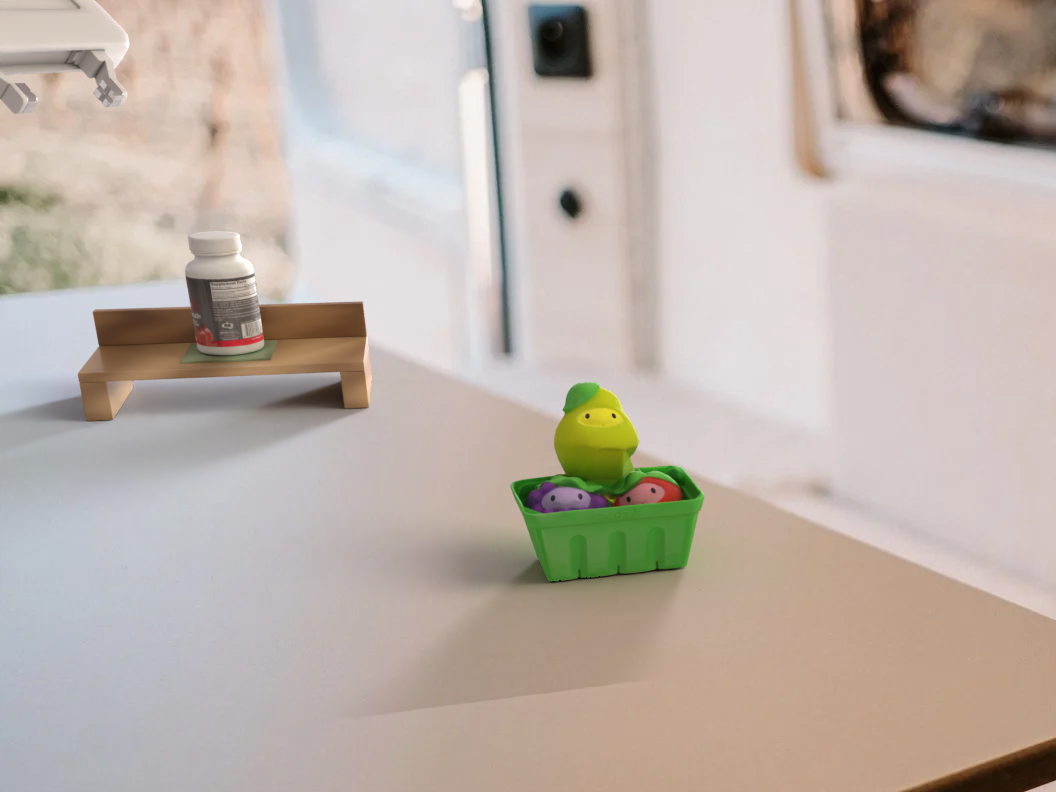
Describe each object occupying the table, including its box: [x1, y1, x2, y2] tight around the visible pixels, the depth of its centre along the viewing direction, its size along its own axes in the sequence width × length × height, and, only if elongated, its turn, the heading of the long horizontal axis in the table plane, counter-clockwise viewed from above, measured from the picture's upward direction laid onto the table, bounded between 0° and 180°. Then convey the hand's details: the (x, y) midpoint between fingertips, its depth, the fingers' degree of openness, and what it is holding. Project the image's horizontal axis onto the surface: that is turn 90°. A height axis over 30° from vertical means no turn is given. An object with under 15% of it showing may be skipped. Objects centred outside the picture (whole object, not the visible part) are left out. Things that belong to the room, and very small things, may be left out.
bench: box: [77, 300, 373, 422], centre depth 139 cm, size 22×11×7 cm, turn 107°
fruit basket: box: [510, 381, 706, 583], centre depth 104 cm, size 11×9×11 cm
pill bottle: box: [184, 230, 264, 355], centre depth 137 cm, size 5×5×10 cm
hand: (74, 105), depth 135 cm, fingers open, 8 cm apart
